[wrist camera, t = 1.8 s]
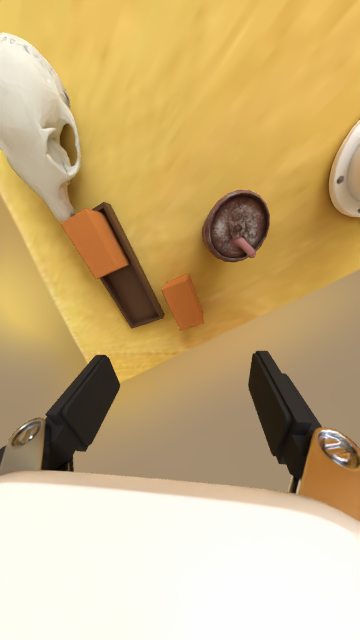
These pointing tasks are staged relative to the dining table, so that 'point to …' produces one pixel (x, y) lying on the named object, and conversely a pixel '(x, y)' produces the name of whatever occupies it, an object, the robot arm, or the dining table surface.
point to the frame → (130, 281)
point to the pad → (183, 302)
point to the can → (236, 226)
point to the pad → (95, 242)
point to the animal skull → (36, 123)
